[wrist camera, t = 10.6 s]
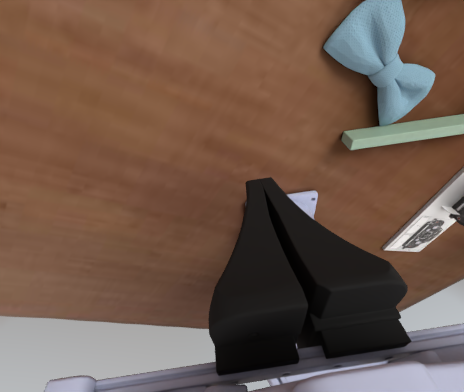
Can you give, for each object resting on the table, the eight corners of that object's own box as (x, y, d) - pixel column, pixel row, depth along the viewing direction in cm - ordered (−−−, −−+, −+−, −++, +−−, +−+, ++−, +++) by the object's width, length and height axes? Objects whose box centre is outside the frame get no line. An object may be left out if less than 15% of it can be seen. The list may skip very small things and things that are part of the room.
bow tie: (453, 88, 18) (391, 135, 20) (437, 82, 19) (380, 127, 21) (402, -34, 13) (327, 46, 15) (385, -32, 14) (318, 42, 16)
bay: (481, 120, 22) (499, 128, 21) (340, 140, 22) (350, 150, 21) (616, -91, 14) (662, -99, 12) (387, -60, 13) (408, -65, 12)
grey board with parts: (465, 164, 26) (505, 190, 22) (508, 171, 27) (552, 197, 24) (381, 247, 35) (401, 274, 32) (417, 249, 37) (439, 275, 33)
